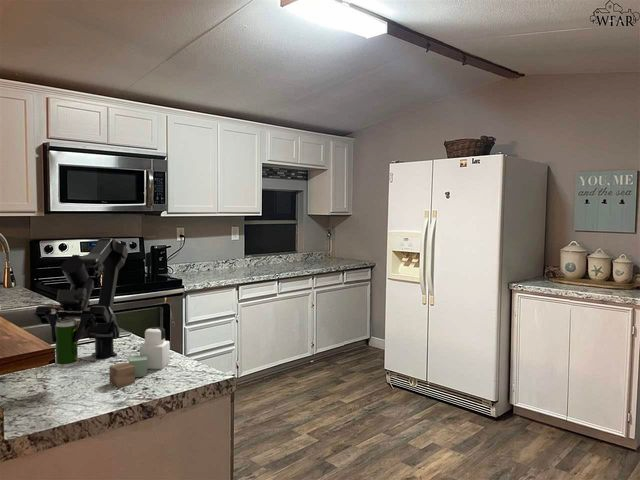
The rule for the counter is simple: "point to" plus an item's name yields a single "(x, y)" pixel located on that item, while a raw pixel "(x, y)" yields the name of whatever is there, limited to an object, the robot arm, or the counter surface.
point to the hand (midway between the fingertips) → (64, 341)
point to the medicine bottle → (156, 348)
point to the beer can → (66, 342)
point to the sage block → (139, 365)
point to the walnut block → (122, 374)
